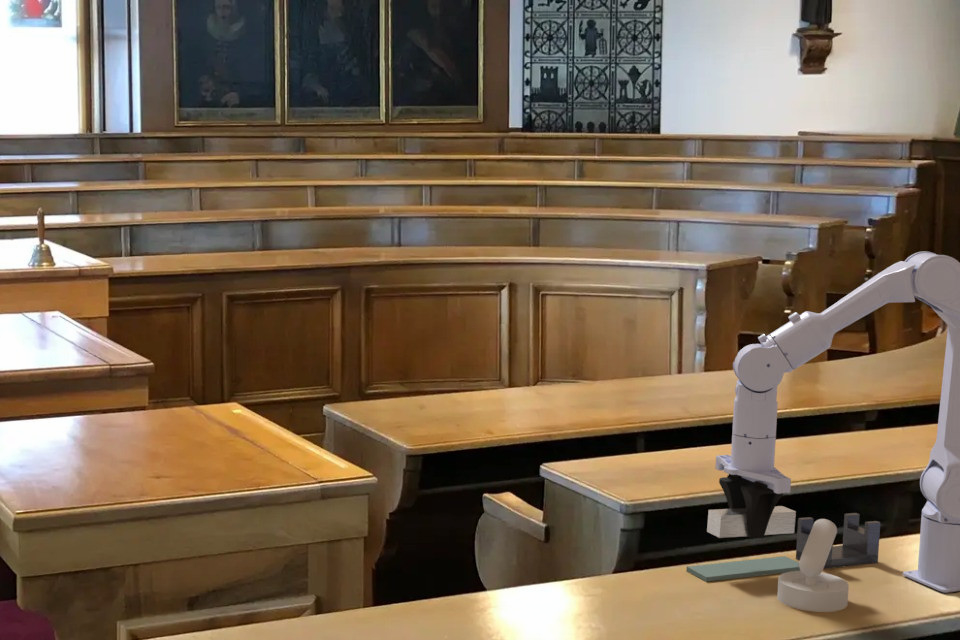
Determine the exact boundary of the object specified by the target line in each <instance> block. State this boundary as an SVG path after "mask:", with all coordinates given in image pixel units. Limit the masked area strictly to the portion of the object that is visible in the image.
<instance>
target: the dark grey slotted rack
mask: <svg viewBox="0 0 960 640" xmlns="http://www.w3.org/2000/svg"><path fill="white" fill-rule="evenodd" d="M813 525H814V518H813V517H809V516H808V517H807V516H806V517H799V518H798V519H797V533H796V535H797V536H796V549H795V559H796V560H798V561H800V558H801V555H802V552H803V550H804V547H805V545H806V542H807V540H808V537H809V535H810V532H811V530H812V527H813ZM842 532H843V533H842V545H836V546H834V543H833V544H832V547H831V550H830V552H829V555H828V558H827V560H826V563H825V566H824V568H823V570H826V569H834V568H833V567H836V568H844V567H843V566H845V567H851V566H863V565H869V564H870V565H871V564H878V563H879V550H880V549H879V547H880V535H881V534H880V533H881V521H877V520H873V521H872V520H871V521H865V522H864V528H863V527H861V526H860V513H857V512H850V513H849V512H848V513H844V517H843V531H842Z"/></svg>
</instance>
